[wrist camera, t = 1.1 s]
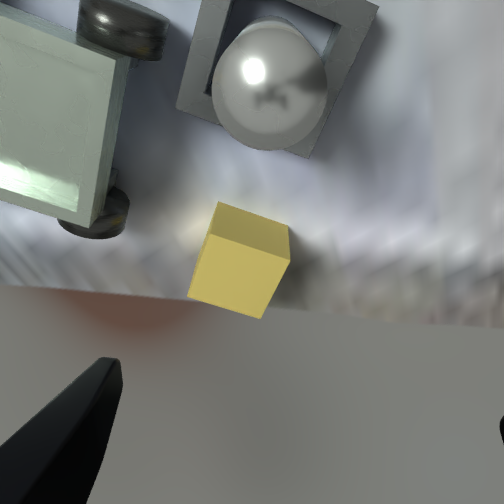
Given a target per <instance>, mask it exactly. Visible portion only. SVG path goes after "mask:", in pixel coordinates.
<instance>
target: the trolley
mask: <svg viewBox="0 0 504 504" xmlns="http://www.w3.org/2000/svg"><path fill="white" fill-rule="evenodd" d="M169 22H170V21H169V20H168V19H167V18H166V17H164V16H163V15H161V14H159V13H157V12H155V11H153V10H151V9H149V8H146V7H144V6H142V5H139V4H137V3H135V2H132V1H129V0H80V2H79V11H78V21H77V30H76V31H77V32H75V31H72V30H70V29H67V28H64V27H62V26H59V25H57V24H54V23H52V22H49V21H47V20H44V19H42V18H39V17H37V16H34V15H32V14H29V13H27V12H24V11H21V10H19V9H16V8H14V7H11V6H9V5H6V4H4V3H1V2H0V200H2V201H5V202H8V203H11V204H14V205H17V206H21V207H24V208H27V209H30V210H33V211H36V212H39V213H42V214H46V215H49V216H52V217H55V218H57V220H58V222H59V224H60V225H61V226H62V227H63V228H64V229H65V230H67V231H68V232H70V233H72V234H74V235H77V236H80V237H84V238H89V239H108V238H112V237H115V236H117V235H119V234H120V233H122V231H123V230H124V228H125V223H126V219H127V214H128V210H129V205H130V200H129V198H128V196H127V195H126V194H125V193H124V192H123V191H122V190H120V189H119V188H117V187H115V186H114V185H115V184H116V178H117V173H118V171H117V170H115V169H112V168H111V166H112V160H113V155H114V149H115V144H116V138H117V132H118V127H119V121H120V116H121V110H122V104H123V99H124V93H125V88H126V82H127V76H128V71H129V70H131V69H133V68H135V67H137V66H138V62H139V59H142V60H148V61H159V60H161V58H162V54H163V49H164V44H165V40H166V35H167V31H168V26H169Z"/></svg>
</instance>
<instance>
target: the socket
mask: <svg viewBox="0 0 504 504" xmlns="http://www.w3.org/2000/svg"><path fill="white" fill-rule="evenodd" d="M286 1H288V2H290V3H293V4H295V5H297V6H299V7H302V8H304V9H306V10H308V11H311V12H313V13H315V14H317V15H320V16H322V17H324V18H326V19H329V20H331V21H333V22H335V23H336V24H335V27H334V29H333V31H332V34H331V36H330V39H329V41H328V43H327V46H326V48H325V50H324V53H323V55H322V58H321V61H322V63H323V66H324V69H325V73H326V77H327V99H326V104H325V108H324V110H323V113H322V115H321V117H320V119H319V121H318V123H317V124H316V126H315V127H314V128H313V130H312V131H311V132H310V133H309V134H308V135H307V136H306V137H304V138H303V139H302V140H300V141H299V142H297V143H296V144H294V145H292V146H289V147H286V148H283V150H286V151H289V152H291V153H294V154H296V155H299V156H302V157H304V158H307V159H309V157H310V154H311V152H312V150H313V148H314V146H315V144H316V141H317V139H318V137H319V135H320V133H321V131H322V129H323V126H324V124H325V122H326V120H327V118H328V116H329V114H330V111H331V109H332V107H333V105H334V103H335V101H336V98H337V96H338V94H339V92H340V90H341V88H342V86H343V83H344V81H345V79H346V77H347V75H348V73H349V71H350V68H351V66H352V64H353V62H354V60H355V58H356V55H357V53H358V51H359V49H360V47H361V45H362V43H363V40H364V38H365V36H366V34H367V32H368V30H369V28H370V25H371V23H372V21H373V19H374V17H375V15H376V13H377V10H378V8H379V6H377V5H375V4H373V3H371V2H368V1H366V0H286ZM233 2H234V0H202V2H201V6H200V10H199V14H198V18H197V22H196V26H195V30H194V34H193V38H192V42H191V46H190V50H189V54H188V58H187V62H186V66H185V70H184V74H183V78H182V82H181V86H180V90H179V94H178V98H177V102H176V106H175V108H176V109H178V110H181V111H183V112H186V113H189V114H191V115H194V116H197V117H199V118H202V119H204V120H207V121H210V122H212V123H215V124H218V125H220V126H222V124H221V122H220V121H219V119H218V117H217V114H216V112H215V109H214V105H213V100H212V87H209V85H210V81H211V78H212V75H213V71H214V68H215V64H216V61H217V57H218V54H219V50H220V47H221V43H222V40H223V36H224V33H225V30H226V26H227V23H228V19H229V16H230V12H231V9H232V5H233Z"/></svg>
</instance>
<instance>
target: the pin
mask: <svg viewBox="0 0 504 504" xmlns="http://www.w3.org/2000/svg"><path fill="white" fill-rule="evenodd" d="M326 99H327V77H326V73H325V69H324V66H323V63H322V61H321V59H320V57H319V56H318V54H317V52H316V51H315V50H314V48H313V47H312V46H311V45H310V44H309V42H308V41H307V40H306V39H305V38H304V37H303V35H302V34H301V33H300V32H299V31H298V30H297V28H296V27H295V26H294V25H293V24H292V23H290V22H289V21H288V20H286V19H284V18H282V17H279V16H271V15H269V16H263V17H259V18H257V19H255V20H253V21H252V22H250V23H249V24H248V25H247V26H246V27H245V28H244V29H243V30H242V32H241V33H240V34H239V35H238V36H237V37H236V39H235V40H234V41H233V42H232V43H231V44H230V45H229V47H228V48H227V49H226V50H225V52H224V53H223V54H222V56H221V57H220V59H219V61H218V63H217V66H216V68H215V71H214V75H213V80H212V100H213V105H214V109H215V112H216V114H217V117H218V119H219V121H220V122H221V124H222V126H223V127H224V128H225V130H226V131H227V132H228V133H229V134H230V135H231V136H232V137H233V138H235V139H236V140H237V141H239V142H240V143H242V144H244V145H246V146H248V147H251V148H254V149H259V150H269V151H270V150H279V149H283V148H286V147H289V146H292V145H294V144H296V143H297V142H299V141H300V140H302V139H303V138H304V137H306V136H307V135H308V134H309V133H310V132H311V131H312V130H313V128H314V127H315V126H316V124H317V123H318V121H319V119H320V117H321V115H322V113H323V110H324V108H325V104H326Z"/></svg>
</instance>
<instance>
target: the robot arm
mask: <svg viewBox="0 0 504 504" xmlns="http://www.w3.org/2000/svg"><path fill="white" fill-rule="evenodd" d="M122 388H123V380H122V372H121V364H120V361H119V360H118V359H117V358H109V357H101V358H99V359H98V360H97V361H95V362H94V363H93V364H92V365H91V366H90V367H89V368H88V369H86V370H85V371H84V372H83V373H82V374H81V375H80V376H78V377H77V378H76V379H75V380H74V381H73V382H72V383H71V384H69V385H68V386H67V387H66V388H65V389H64V390H63V391H62V392H61V393H60V394H58V395H57V396H56V397H55V398H54V399H53V400H52V401H50V402H49V403H48V404H47V405H46V406H45V407H44V408H43V409H41V410H40V411H39V412H38V413H37V414H36V415H35V416H34V417H32V418H31V419H30V420H29V421H28V422H27V423H26V424H25V425H23V426H22V427H21V428H20V429H19V430H18V431H17V432H16V433H15V434H13V435H12V436H11V437H10V438H9V439H8V440H7V441H6V442H4V443H3V444H2V445H1V446H0V504H86V503H87V500H88V498H89V495H90V493H91V490H92V488H93V485H94V482H95V480H96V477H97V475H98V472H99V470H100V467H101V464H102V461H103V458H104V455H105V451H106V448H107V444H108V441H109V437H110V433H111V429H112V426H113V422H114V419H115V415H116V411H117V408H118V404H119V400H120V396H121V393H122ZM500 433H501V436H502V440H503V443H504V416H503V417H502V419H501V421H500Z"/></svg>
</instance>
